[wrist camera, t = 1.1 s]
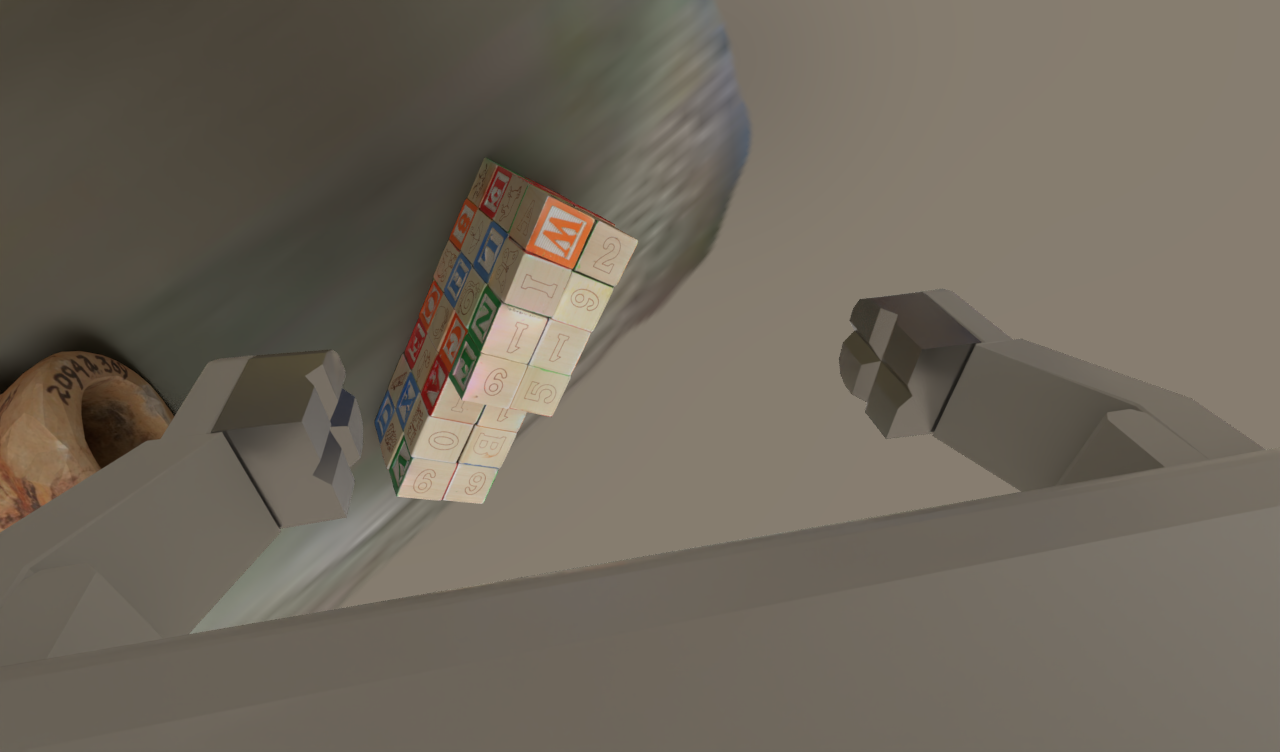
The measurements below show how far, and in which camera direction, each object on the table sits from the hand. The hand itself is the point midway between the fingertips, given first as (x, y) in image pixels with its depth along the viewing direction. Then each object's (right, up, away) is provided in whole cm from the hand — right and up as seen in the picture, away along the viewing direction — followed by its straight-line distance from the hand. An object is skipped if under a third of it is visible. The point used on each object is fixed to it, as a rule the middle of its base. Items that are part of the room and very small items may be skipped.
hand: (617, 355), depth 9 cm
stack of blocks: (-13, +5, +34) cm, 37 cm away
